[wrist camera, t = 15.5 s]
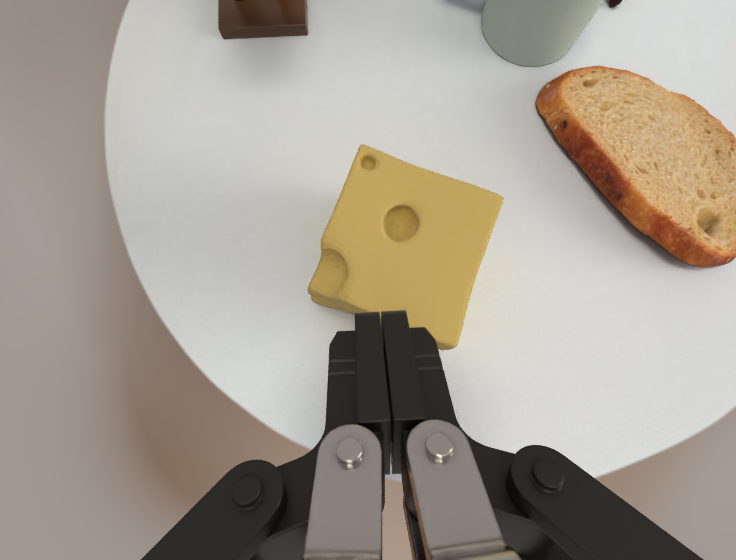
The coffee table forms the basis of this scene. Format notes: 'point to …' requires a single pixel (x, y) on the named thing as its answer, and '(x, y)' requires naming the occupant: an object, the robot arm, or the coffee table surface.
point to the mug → (535, 28)
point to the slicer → (262, 18)
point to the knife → (614, 2)
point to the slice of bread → (650, 158)
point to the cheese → (405, 244)
